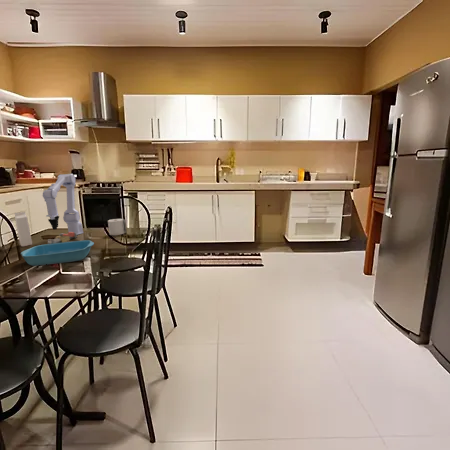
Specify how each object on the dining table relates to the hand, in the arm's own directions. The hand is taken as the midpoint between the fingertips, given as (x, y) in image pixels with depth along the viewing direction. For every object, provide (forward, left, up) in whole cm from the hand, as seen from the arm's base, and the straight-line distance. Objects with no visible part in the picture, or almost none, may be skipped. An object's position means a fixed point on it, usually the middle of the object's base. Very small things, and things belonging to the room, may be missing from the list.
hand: (55, 228), depth 208 cm
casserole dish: (+25, +33, -10) cm, 42 cm away
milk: (+10, -18, -10) cm, 23 cm away
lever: (-3, +6, -6) cm, 9 cm away
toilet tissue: (-30, +24, -10) cm, 40 cm away
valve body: (-3, +1, -10) cm, 10 cm away
